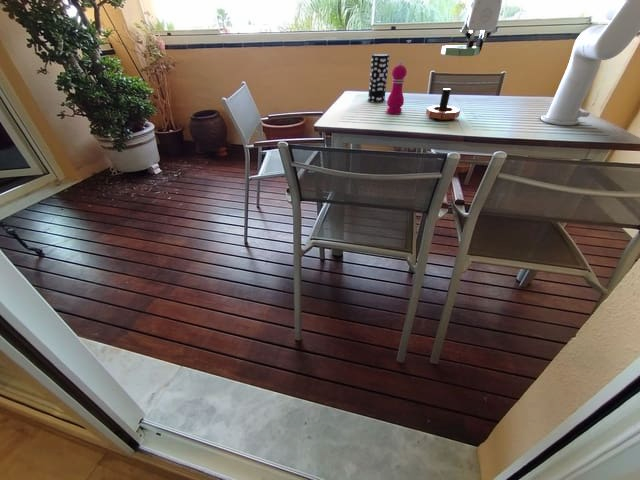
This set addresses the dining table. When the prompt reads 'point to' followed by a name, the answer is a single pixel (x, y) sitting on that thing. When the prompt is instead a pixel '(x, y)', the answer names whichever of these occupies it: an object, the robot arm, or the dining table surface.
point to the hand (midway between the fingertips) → (472, 53)
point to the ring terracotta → (448, 114)
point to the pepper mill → (396, 89)
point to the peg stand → (444, 102)
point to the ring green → (460, 50)
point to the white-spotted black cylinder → (378, 77)
